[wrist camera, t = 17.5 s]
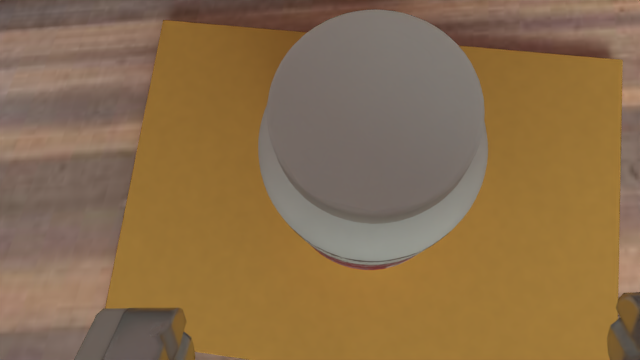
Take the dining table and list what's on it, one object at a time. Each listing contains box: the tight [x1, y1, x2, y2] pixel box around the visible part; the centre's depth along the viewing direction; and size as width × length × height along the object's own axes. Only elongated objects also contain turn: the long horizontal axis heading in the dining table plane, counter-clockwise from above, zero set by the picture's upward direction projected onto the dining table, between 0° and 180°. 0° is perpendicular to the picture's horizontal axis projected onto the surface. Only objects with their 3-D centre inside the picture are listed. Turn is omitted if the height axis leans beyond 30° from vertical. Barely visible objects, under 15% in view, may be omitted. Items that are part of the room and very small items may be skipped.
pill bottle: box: [258, 10, 488, 270], centre depth 17 cm, size 6×6×11 cm
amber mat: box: [105, 20, 623, 360], centre depth 23 cm, size 20×14×1 cm
